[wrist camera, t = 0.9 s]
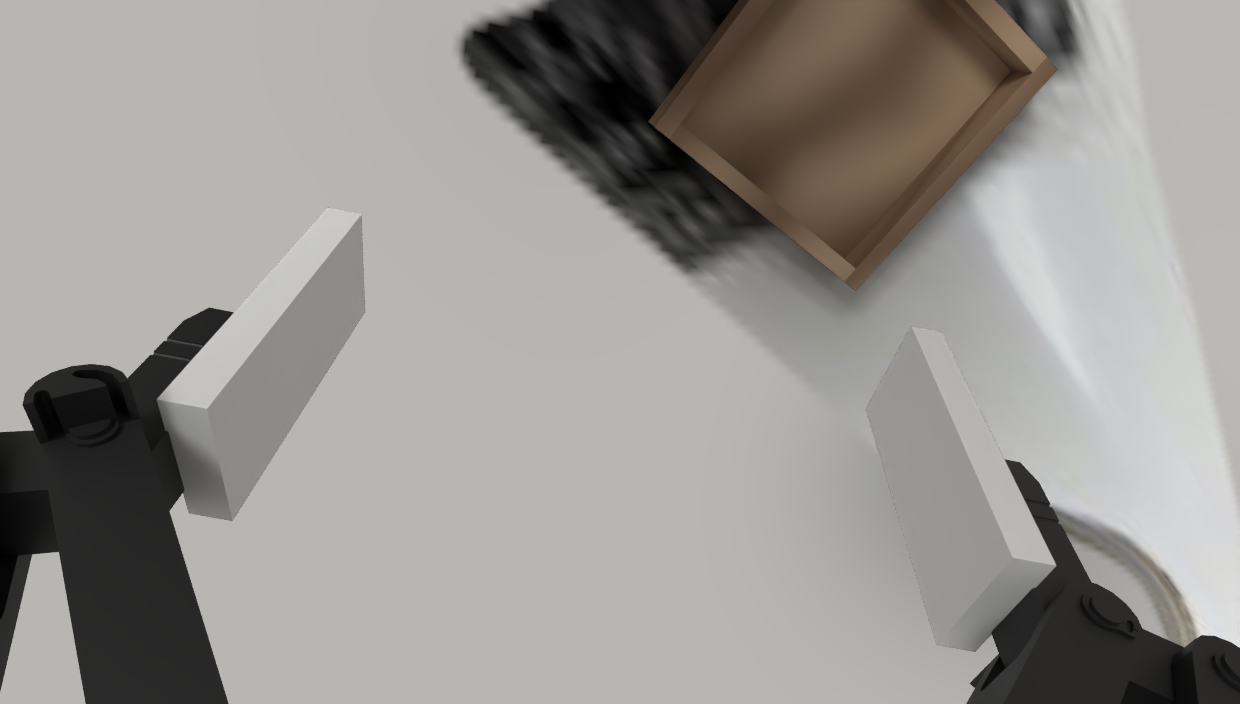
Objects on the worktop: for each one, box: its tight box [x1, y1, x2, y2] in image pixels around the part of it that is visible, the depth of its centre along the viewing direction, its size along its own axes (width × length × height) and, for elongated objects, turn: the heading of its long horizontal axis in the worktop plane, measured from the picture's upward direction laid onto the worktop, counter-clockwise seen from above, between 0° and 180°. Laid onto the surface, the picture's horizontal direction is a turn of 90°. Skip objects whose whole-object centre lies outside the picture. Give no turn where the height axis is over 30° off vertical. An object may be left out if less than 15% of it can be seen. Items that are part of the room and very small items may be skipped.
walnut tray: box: [648, 0, 1058, 291], centre depth 32 cm, size 13×13×2 cm
